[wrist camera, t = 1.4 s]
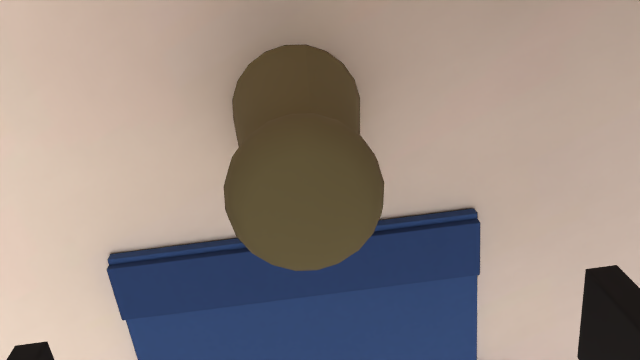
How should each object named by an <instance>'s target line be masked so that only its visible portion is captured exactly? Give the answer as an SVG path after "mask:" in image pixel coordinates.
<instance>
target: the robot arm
mask: <svg viewBox="0 0 640 360" xmlns="http://www.w3.org/2000/svg"><path fill="white" fill-rule="evenodd" d="M578 359H579V360H640V288H639V287H638V286H637V285H636V284H635V283H634V282H633V281H632V280H631V279H630V278H629V277H628V276H627V275H626V274H625V273H624V272H623V271H622V270H621V269H620V268H619V267H618V266H617V265H614V266H607V267H599V268H592V269H586V273H585V284H584V294H583V305H582V315H581V325H580V336H579V346H578ZM7 360H54V358H53V355H52V353H51V350H50V347H49V345H48V342H40V343H33V344H25V345H18V346H15V347H14V349H13V350H12V352H11V354H10V355H9V357H8V358H7Z"/></svg>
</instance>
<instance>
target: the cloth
mask: <svg viewBox="0 0 640 360" xmlns="http://www.w3.org/2000/svg"><path fill="white" fill-rule="evenodd" d="M108 263H109V266H108V268H107V272H108V275H109V279H110V282H111V285H112V288H113V292H114V295H115V298H116V301H117V305H118V308H119V311H120V314H121V318H122V320H126V322H127V325H128V328H129V332H130V335H131V338H132V342H133V345H134V348H135V351H136V355H137V358H138V360H477V275H480V222H479V220H478V219H477V212H476V211H475V209H465V210H457V211H450V212H442V213H434V214H426V215H418V216H410V217H402V218H394V219H386V220H379V221H378V223H377V226H376V228H375V231H374V233H373V234H372V235H371V237H370V238H369V239H368V240H367V241H366V242H365V244H364V245H363V246H362V247H361V248H360V250H358V251H357V252H355V253H354V254H352V255H351V256H349V257H348V258H346V259H345V260H343V261H341V262H340V263H338V264H336V265H332V266H329V267H326V268H323V269H320V270H309V271H294V270H290V269H286V268H282V267H278V266H274V265H271V264H270V263H268V262H266V261H264V260H263V259H261V258H259V257H257V256H256V255H254V254H252V253H251V252H250V251H249V250H248V248H247V247H246V246H245V245H244V244H243V243H242V242H241V241H240V240H239V239H238V238H235V239H227V240H219V241H211V242H203V243H195V244H187V245H179V246H171V247H163V248H155V249H147V250H139V251H131V252H123V253H115V254H110V256H109V258H108Z"/></svg>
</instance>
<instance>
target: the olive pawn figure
mask: <svg viewBox="0 0 640 360" xmlns="http://www.w3.org/2000/svg"><path fill="white" fill-rule="evenodd" d="M232 102H233V118H234V124H235V130H236V135H237V140H238V145H239V148H238V150H237V151H236V152H235V154H234V155H233V157H232V159H231V162H230V166H229V169H228V173H227V176H226V180H225V184H224V197H225V210H226V213H227V215H228V218H229V220H230V222H231V225H232V227H233V229H234V231H235V234H236V236H237V238H238V239H239V240H240V241H241V242H242V243H243V244H244V245H245V246H246V247H247V248H248V250H249V251H250V252H251V253H252V254H254V255H256V256H257V257H259V258H261V259H263V260H264V261H266V262H268V263H270V264H271V265H274V266H278V267H282V268H286V269H290V270H294V271H309V270H320V269H323V268H326V267H329V266H332V265H336V264H338V263H340V262H341V261H343V260H345V259H346V258H348V257H349V256H351V255H352V254H354V253H355V252H357V251H358V250H360V248H361V247H362V246H363V245H364V244H365V242H366V241H367V240H368V239H369V238H370V237H371V235H372V234H373V233H374V231H375V228H376V226H377V223H378V221H379V218H380V216H381V214H382V209H383V197H384V181H383V177H382V174H381V171H380V167H379V164H378V161H377V159H376V157H375V154H374V153H373V152H372V150H371V149H370V148H369V146H368V145H367V144H366V142H365V141H364V139H363V138H362V137H361V136H360V97H359V94H358V90H357V87H356V84H355V80H354V78H353V77H352V76H351V74H350V73H349V71H348V70H347V69H346V67H345V66H344V64H343V63H342V62H340V61H339V60H338V59H336V58H335V57H333V56H332V55H331V54H329V53H328V52H326V51H324V50H321V49H318V48H314V47H311V46H308V45H284V46H281V47H278V48H275V49H272V50H269V51H266V52H265V53H263V54H262V55H261V56H259V57H258V58H257V59H255V60H254V61H253V62H251V63H250V64H249V65H248V67H247V68H246V69H245V71H244V72H243V74H242V75H241V77H240V78H239V80H238V82H237V85H236V89H235V92H234V96H233V100H232Z"/></svg>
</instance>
